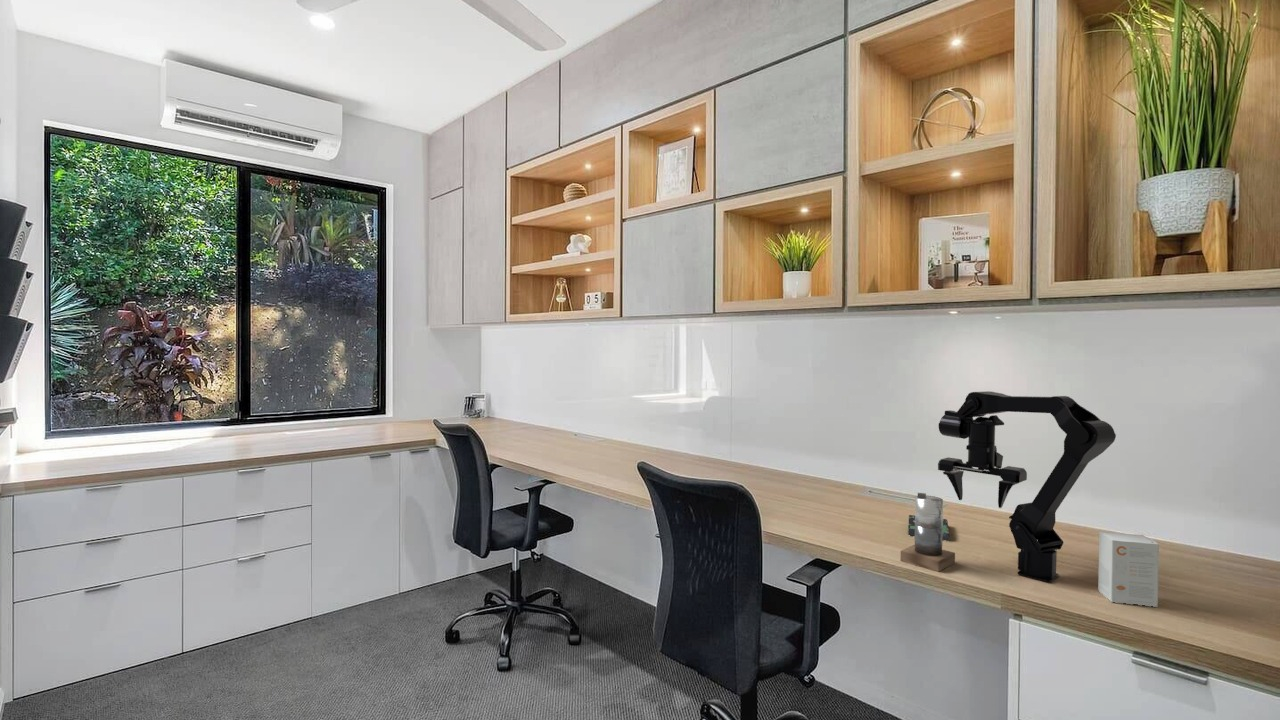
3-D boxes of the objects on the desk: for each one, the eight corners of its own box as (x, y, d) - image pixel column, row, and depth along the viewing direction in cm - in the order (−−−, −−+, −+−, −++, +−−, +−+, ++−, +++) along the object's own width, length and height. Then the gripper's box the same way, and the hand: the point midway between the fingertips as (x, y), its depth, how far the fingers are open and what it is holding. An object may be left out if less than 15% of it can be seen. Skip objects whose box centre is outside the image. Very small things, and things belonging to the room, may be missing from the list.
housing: (941, 549, 146) (942, 492, 145) (942, 557, 140) (943, 498, 140) (914, 546, 148) (915, 490, 148) (914, 553, 143) (915, 495, 142)
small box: (1142, 595, 126) (1143, 534, 125) (1158, 608, 120) (1160, 543, 119) (1096, 590, 128) (1098, 530, 128) (1110, 602, 122) (1112, 539, 122)
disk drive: (908, 523, 178) (908, 537, 164) (908, 514, 178) (908, 527, 164) (947, 528, 173) (950, 543, 160) (947, 518, 173) (950, 532, 160)
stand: (954, 562, 144) (955, 552, 144) (938, 571, 138) (938, 561, 138) (917, 552, 151) (917, 543, 151) (900, 560, 145) (900, 550, 145)
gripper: (1035, 443, 147) (1033, 506, 147) (955, 434, 161) (954, 491, 161) (1019, 448, 140) (1017, 514, 140) (937, 438, 154) (936, 498, 154)
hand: (979, 503), depth 149 cm, fingers open, 9 cm apart
